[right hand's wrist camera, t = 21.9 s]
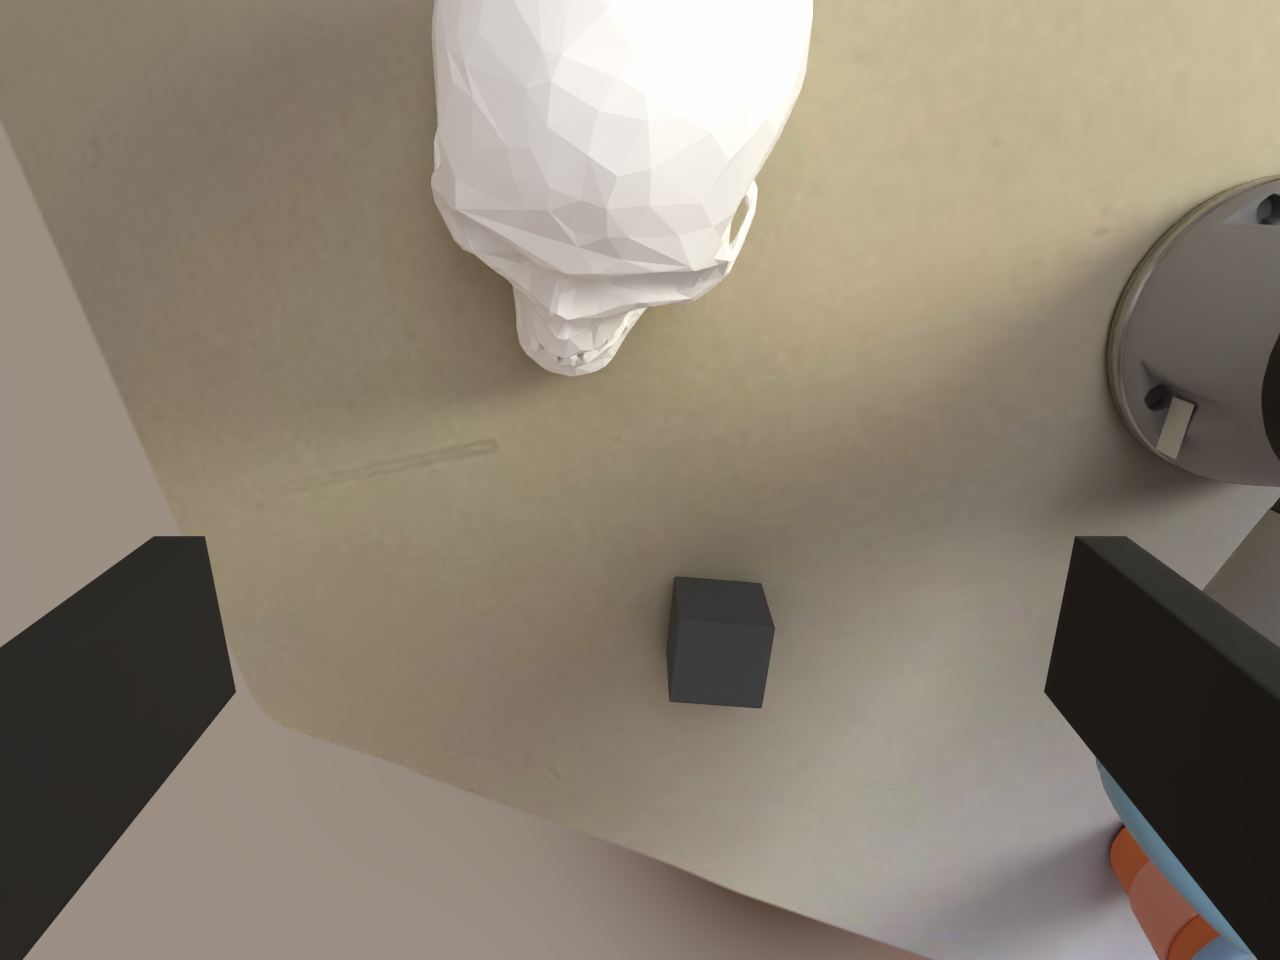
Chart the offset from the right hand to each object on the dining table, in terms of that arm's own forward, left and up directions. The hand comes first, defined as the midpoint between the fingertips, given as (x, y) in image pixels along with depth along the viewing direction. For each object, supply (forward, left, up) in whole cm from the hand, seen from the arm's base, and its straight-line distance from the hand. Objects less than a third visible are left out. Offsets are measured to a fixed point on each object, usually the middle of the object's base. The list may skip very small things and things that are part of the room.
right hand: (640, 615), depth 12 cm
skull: (-7, -4, -31) cm, 32 cm away
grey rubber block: (+15, +10, -31) cm, 36 cm away
